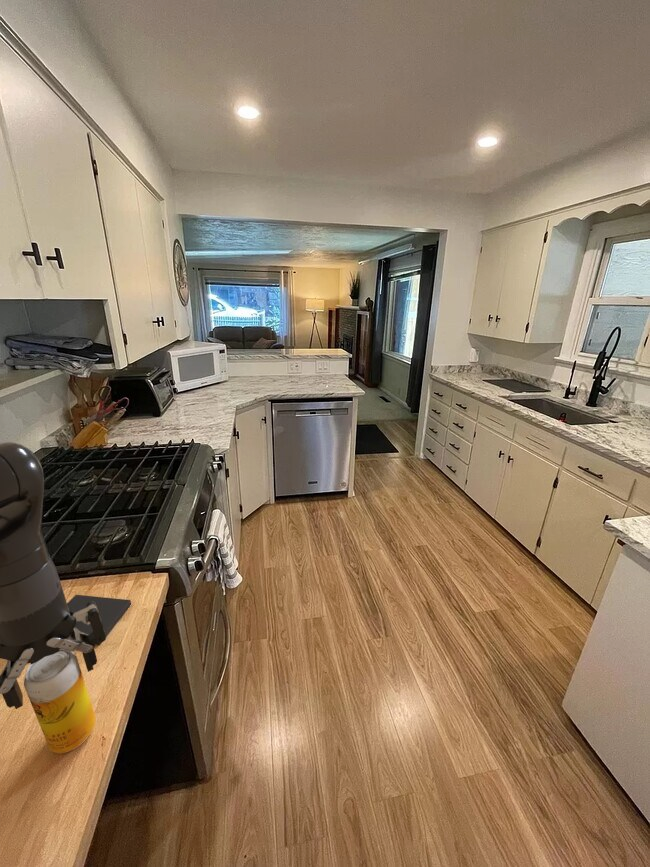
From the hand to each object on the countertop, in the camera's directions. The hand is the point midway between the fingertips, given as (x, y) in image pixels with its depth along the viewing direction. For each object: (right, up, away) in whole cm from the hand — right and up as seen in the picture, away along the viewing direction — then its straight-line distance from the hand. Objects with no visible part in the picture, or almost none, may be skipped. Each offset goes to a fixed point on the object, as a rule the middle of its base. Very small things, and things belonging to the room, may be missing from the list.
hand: (56, 683), depth 51 cm
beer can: (0, -11, +4) cm, 11 cm away
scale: (-11, -3, +23) cm, 26 cm away
